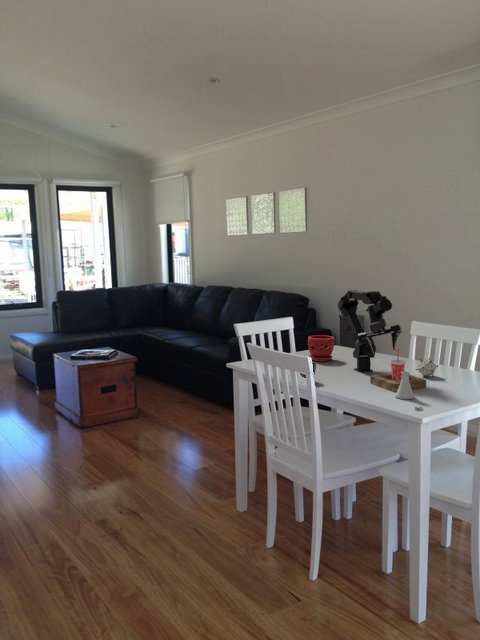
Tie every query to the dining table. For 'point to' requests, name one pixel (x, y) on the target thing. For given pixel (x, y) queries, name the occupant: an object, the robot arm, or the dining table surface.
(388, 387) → the base board
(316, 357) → the plant pot
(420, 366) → the spiky beige ball
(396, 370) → the beverage cup
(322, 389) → the dining table surface
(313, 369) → the cup
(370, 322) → the robot arm
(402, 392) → the flask
